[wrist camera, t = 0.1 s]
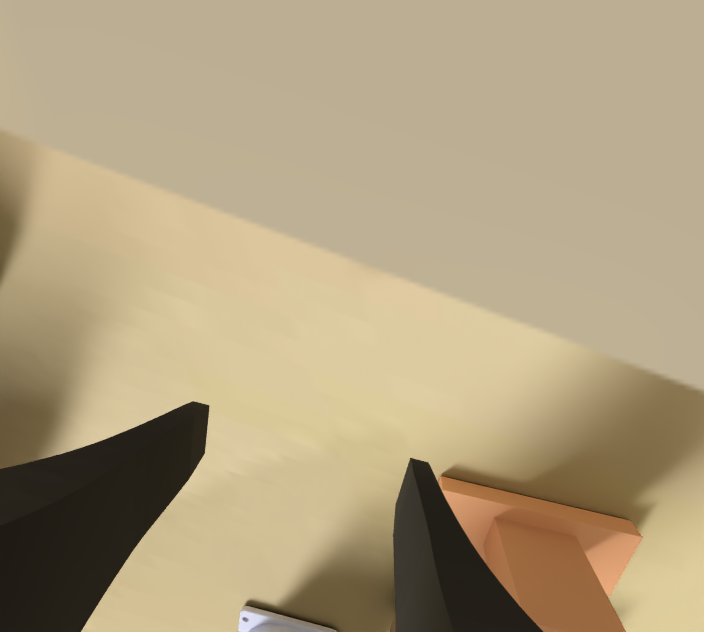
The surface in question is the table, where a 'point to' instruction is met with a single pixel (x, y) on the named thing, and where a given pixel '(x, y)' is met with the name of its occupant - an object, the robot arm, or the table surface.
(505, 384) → the table surface
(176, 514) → the table surface
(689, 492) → the table surface
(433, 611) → the robot arm
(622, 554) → the stepped pink slab
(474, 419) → the table surface
